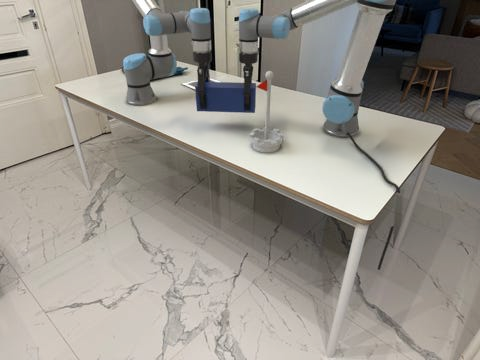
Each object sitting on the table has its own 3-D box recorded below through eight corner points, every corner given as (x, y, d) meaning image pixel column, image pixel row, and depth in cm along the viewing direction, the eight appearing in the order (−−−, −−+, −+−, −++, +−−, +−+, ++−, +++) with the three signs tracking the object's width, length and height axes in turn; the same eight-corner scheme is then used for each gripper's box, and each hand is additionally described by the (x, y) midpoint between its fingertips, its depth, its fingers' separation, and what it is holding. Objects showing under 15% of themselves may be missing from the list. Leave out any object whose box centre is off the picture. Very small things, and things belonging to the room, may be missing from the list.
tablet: (181, 84, 205) (181, 83, 205) (208, 77, 216) (208, 77, 216) (213, 98, 185) (213, 97, 185) (241, 90, 196) (241, 89, 196)
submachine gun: (173, 61, 239) (192, 66, 223) (173, 67, 241) (193, 72, 225) (127, 70, 221) (144, 76, 204) (128, 76, 223) (146, 83, 206)
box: (255, 106, 152) (256, 83, 146) (254, 113, 146) (255, 88, 140) (200, 105, 154) (198, 81, 148) (196, 111, 147) (195, 86, 142)
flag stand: (273, 136, 144) (277, 64, 128) (288, 150, 134) (294, 73, 118) (245, 141, 141) (245, 68, 124) (257, 156, 130) (260, 77, 114)
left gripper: (198, 45, 146) (201, 95, 159) (187, 57, 128) (192, 113, 140) (215, 45, 146) (217, 96, 158) (206, 57, 128) (209, 114, 140)
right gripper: (241, 46, 144) (241, 98, 157) (236, 58, 127) (237, 115, 140) (258, 46, 144) (257, 98, 156) (256, 58, 127) (255, 115, 139)
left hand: (205, 104), depth 149 cm, fingers open, 9 cm apart
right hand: (247, 106), depth 148 cm, fingers closed on box, 7 cm apart
